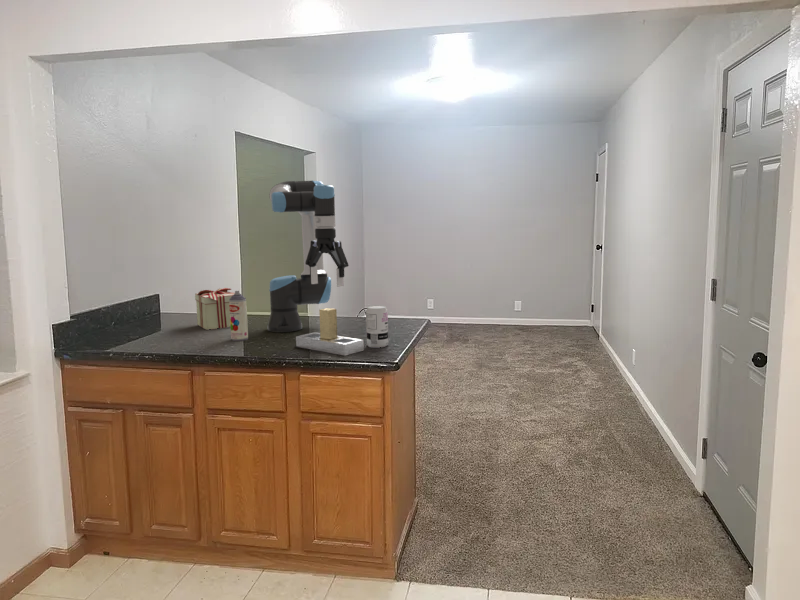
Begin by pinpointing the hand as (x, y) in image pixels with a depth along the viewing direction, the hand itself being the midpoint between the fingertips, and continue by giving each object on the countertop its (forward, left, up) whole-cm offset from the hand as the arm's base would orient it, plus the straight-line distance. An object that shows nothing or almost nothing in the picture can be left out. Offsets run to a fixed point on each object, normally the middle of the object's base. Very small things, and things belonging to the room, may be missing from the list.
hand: (327, 285), depth 235 cm
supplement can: (+12, +14, -24) cm, 31 cm away
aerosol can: (-43, -9, -24) cm, 50 cm away
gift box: (-75, +4, -24) cm, 79 cm away
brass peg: (0, 0, -24) cm, 24 cm away
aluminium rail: (0, 0, -24) cm, 24 cm away
